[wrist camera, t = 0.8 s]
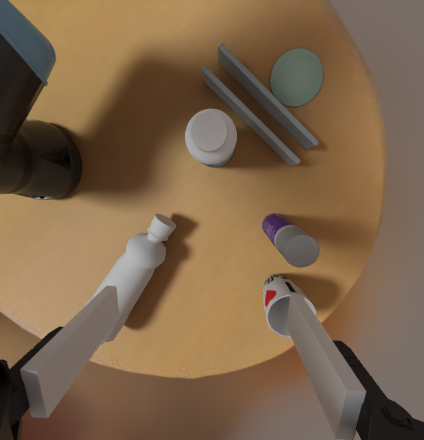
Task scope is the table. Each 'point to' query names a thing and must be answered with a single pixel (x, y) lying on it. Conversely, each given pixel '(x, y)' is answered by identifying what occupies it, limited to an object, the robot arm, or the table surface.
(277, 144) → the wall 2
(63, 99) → the table surface
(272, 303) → the cup
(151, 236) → the bottle
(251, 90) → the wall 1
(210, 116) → the pill bottle
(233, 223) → the table surface
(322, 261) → the table surface
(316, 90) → the spot
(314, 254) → the container
